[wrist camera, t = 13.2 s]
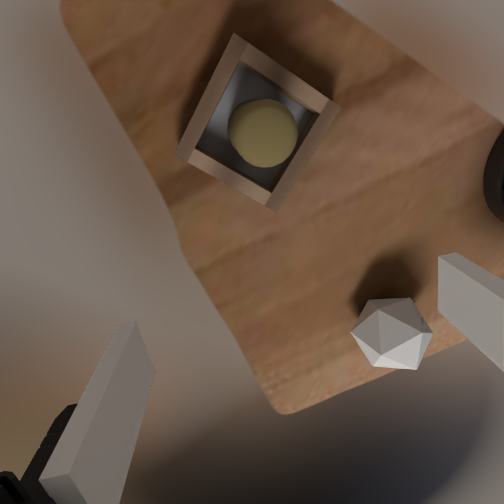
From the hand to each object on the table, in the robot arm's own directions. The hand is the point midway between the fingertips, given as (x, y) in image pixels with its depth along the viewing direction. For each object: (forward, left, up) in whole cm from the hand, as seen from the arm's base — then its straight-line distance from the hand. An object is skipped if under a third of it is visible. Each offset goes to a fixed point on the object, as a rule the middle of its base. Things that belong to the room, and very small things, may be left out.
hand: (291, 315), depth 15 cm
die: (-24, +6, -26) cm, 36 cm away
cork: (+3, -6, -26) cm, 27 cm away
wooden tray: (+3, -6, -26) cm, 27 cm away
